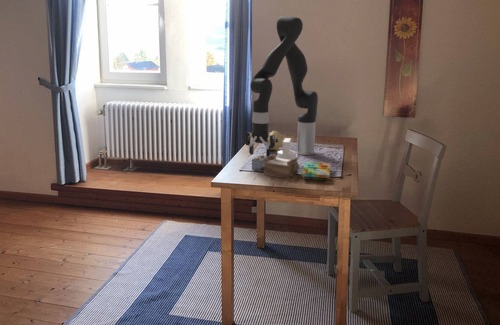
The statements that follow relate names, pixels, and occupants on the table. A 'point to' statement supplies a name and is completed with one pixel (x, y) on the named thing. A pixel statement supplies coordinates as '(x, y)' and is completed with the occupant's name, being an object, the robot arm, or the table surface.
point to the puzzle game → (316, 171)
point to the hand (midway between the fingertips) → (259, 155)
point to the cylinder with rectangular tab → (286, 150)
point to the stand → (280, 166)
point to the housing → (258, 162)
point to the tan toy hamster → (276, 140)
